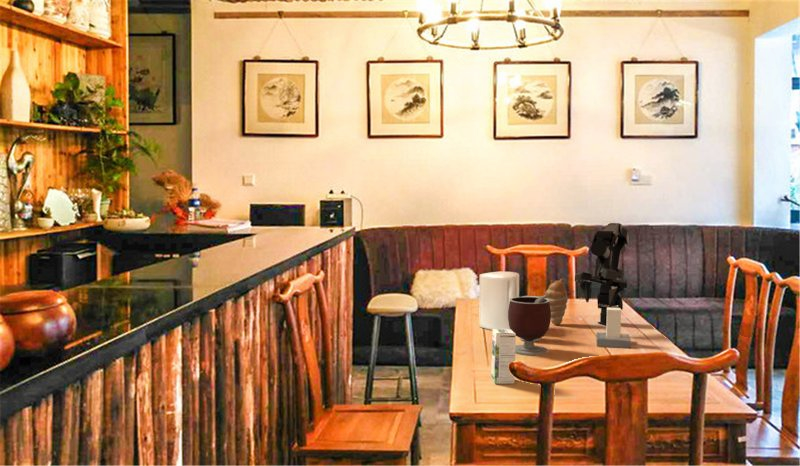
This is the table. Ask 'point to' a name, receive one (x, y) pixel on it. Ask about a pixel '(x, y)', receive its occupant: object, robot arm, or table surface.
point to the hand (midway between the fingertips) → (598, 304)
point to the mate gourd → (529, 322)
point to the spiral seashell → (557, 300)
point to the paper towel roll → (496, 298)
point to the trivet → (613, 341)
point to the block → (613, 322)
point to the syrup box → (502, 355)
